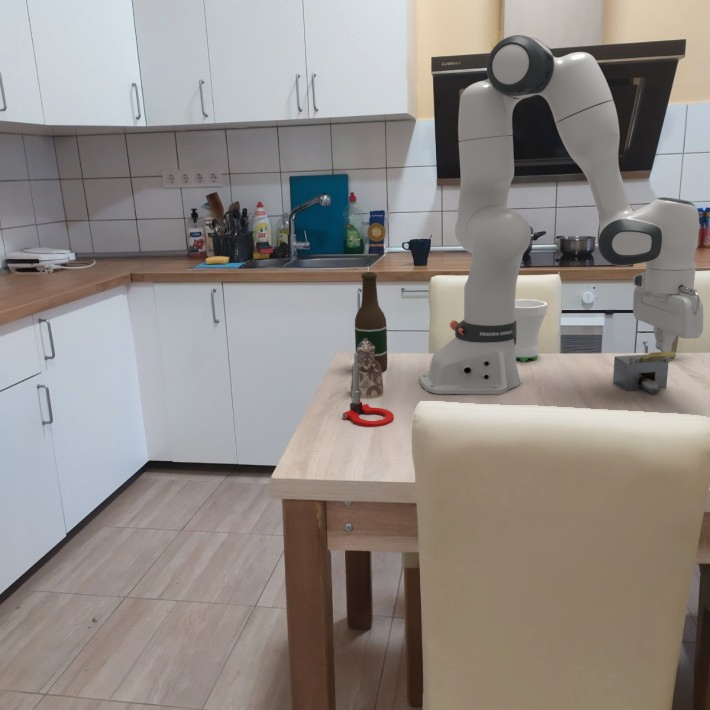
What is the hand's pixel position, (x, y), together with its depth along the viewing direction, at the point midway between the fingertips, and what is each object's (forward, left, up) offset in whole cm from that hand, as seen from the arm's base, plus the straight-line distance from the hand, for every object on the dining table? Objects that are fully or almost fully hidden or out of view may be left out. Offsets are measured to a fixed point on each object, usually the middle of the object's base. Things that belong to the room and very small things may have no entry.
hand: (663, 350), depth 136 cm
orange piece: (0, +8, -10) cm, 13 cm away
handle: (+17, +27, -10) cm, 34 cm away
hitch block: (0, +8, -10) cm, 13 cm away
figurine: (-59, +14, -10) cm, 62 cm away
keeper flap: (0, +3, -3) cm, 4 cm away
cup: (-17, +35, -10) cm, 41 cm away
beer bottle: (-56, +32, -10) cm, 66 cm away
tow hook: (-60, -2, -10) cm, 61 cm away
